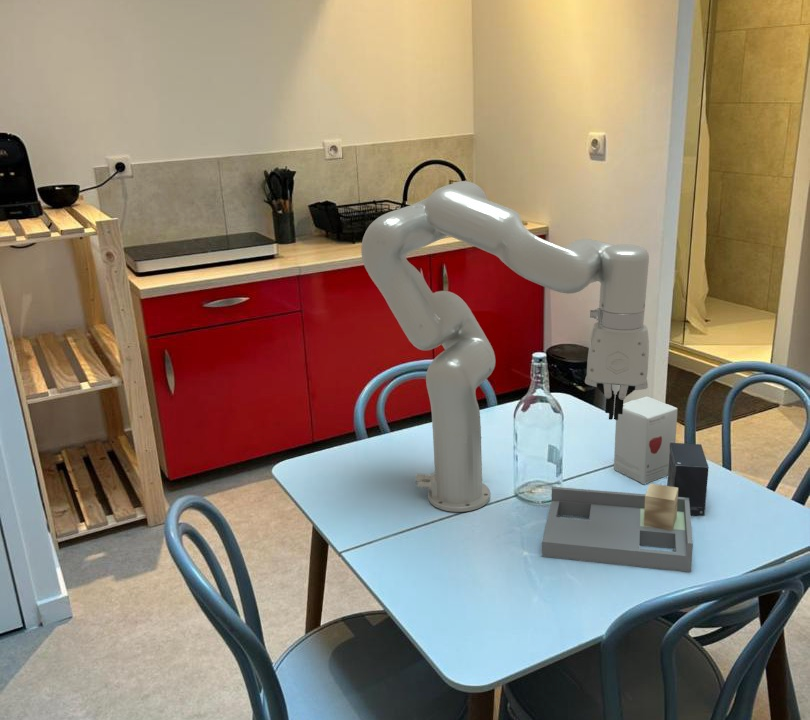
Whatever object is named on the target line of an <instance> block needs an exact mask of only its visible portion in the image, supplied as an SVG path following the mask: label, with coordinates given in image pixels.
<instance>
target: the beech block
mask: <svg viewBox="0 0 810 720" xmlns="http://www.w3.org/2000/svg"><path fill="white" fill-rule="evenodd" d="M648 484H649V485H648V487H647V490H646V493H645V494H646V495H645V511H644V526H649V527H655V528H661V529H666V530H672V531H673V528H674V524H675V521H676V518H677V502H678V488H677V487H670V486H667V485H662V484H655V483H648Z"/></svg>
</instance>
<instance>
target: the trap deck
mask: <svg viewBox="0 0 810 720" xmlns="http://www.w3.org/2000/svg"><path fill="white" fill-rule="evenodd" d="M645 495H646V493H636V492H635V493H634V492H624V491H623V492H622V491H621V492H620V491H608V490H596V489H595V490H594V489H583V488H572V487H570V488H569V487H558V486H551V502H550V504H549V506H550V507H549V509H548V515H547V518H546V523H545V526H544V527H545V528H544V531H543V536H542V539H541V557H543V558H544V557H545V558H551V559H553V558H554V559H563V560H570V559H571V561H572V560H573V561H580V560H581V562H582V561H583V562H590V563H591V562H592V563H598V564H599V563H601V564H608V565H609V564H610V565H618V566H619V565H620V566H629V567H639V568H649V569H658V570H659V569H660V570H667V571H668V570H669V571H675V572H676V571H677V572H678V571H679V572H685V573H686V572H687V573H692V561H693V548H694V547H693V546H694V539H693V530H692V529H693V528H692V517H691V516H692V515H690V504H689V498H685V497H678V502H677V518H676V521H675V524H674V528H673V531H672V530H666V529H661V528H655V527H649V526H644V511H645ZM560 516H562V517H560ZM563 516H564V517H563ZM571 517H573V518H571ZM574 517H575V518H574ZM576 517H577V518H576ZM580 518H583V519H580ZM584 518H585V519H584ZM586 518H588V519H586ZM640 546H643V547H644V546H647V547H656V548H667V549H674V551H669V550H661V549H660V550H659V549H650V548H649V549H648V548H641V547H640Z"/></svg>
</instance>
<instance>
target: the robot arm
mask: <svg viewBox="0 0 810 720" xmlns="http://www.w3.org/2000/svg"><path fill="white" fill-rule="evenodd" d="M447 237H451V238H452V239H456V240H458V241H461V242H462V243H466V244H468V245H469V246H470V245H471V246H473V247H475V248H477V249H480V250H482V251H485V252H486V253H489V254H491V255H494V256H496V257H497V258H499V260H500V261H501V262H502V264H503V263H504V265H506V266H507V268H509V269H510V270H512V271H513V272H514V273H516V274H517V275H519V276H520V277H522V278H524V279H525V280H528V281H530V282H532V283H535V284H537V285H539V286H542V287H544V288H547V289H549V290H551V291H554V292H558V293H563V294H566V295H567V294H577V293H579V292H581V291H583V290H584V289H585V288H586V287H588V286H590V285H591V284H593V283H596V282H599V283H600V290H599V301H598V302H599V304H598V305H599V306H598V307H597V309H590V310H589V318H593V319H595V320H596V322H595V323H594V324H593V326H592V330H591V334H590V337H589V338H590V339H589V345H588V351H587V352H588V353H587V362H586V376H585V377H584V378H585V379H584V383H585V384H586V385H588V386H592V387H595V388H597V389H599V391H600V392H601V393H602V394H603V395H604V397H605V411H604V413H606V414H608V420H614V421H616V420H618V414H622V413H623V403H624V400H625V399H626V397H627V396H629V395H631V394H632V393H633V392H634V391H641V390H647V389H648V388H649V383H648V373H649V356H650V355H649V352H650V344H649V343H650V342H649V341H650V340H649V339H650V338H649V332H648V327H647V325H645V323H644V321H645V310H646V309H645V308H646V301H647V300H646V297H647V285H648V275H649V274H648V273H649V266H650V265H649V263H650V262H649V261H650V257H649V252H648V250H647V249H646V248H645V247H642V246H640V245H635V244H613V243H607V242H604V241H603V242H602V241H600V240H595V239H592V238H580V239H576V240H575V241H573V242H571V243H569V244H568V245H566V246H564V247H563V246H561V245H558V244H555V243H552V242H550V241H548V240H546V239H544V238H541V237H540V236H537V235H535V234H534V233H532V232H531V231H529V230H528V229H527V228H526V226H525V225H524V223H523V221H522V219H521V216H520V214H519V213H518V212H517V211H516V210H514V209H513V208H509V207H506V206H505V205H502V204H500V203H496V202H494V201H491V200H489V199H488V197H487V194H486V193H485V192H484V190H483V189H482V188H481V187H480V186H479V185H477V184H476V183H475V182H471V181H468V180H467V181H466V180H462V181H456V182H453V183H450V184H447V185H444V186H442V187H439V188H436V189H435V191H433V192H432V193H431V194H430V195H429V196H428V197H426V198H424V199H422V200H419V201H418V202H416V203H413V204H411V205H407V206H404V207H401V208H398V209H395V210H392V211H389V212H386V213H384V214H381V215H380V216H378V217H377V218H376V219H375V220H373V221H372V222H371V223H370V224H369V226H368V227H367V229H366V230H365V233H364V235H363V237H362V241H361V250H360V251H361V252H360V253H361V259H362V263H363V266H364V268H365V270H366V272H367V273H368V276H369V277H370V279H371V280H372V282H373V283H374V285H375V286H376V287H377V289H378V290H379V292H380V293H381V295H382V296H383V298H384V299H385V301H386V303H387V306H388V307H389V309H390V310H391V312H392V314H393V316H394V318H395V319H396V320H397V322H398V325H399V326H400V328H401V330H402V331H403V333H404V334H405V336H406V338H407V339H408V341H409V343H411V344H412V345H413V347H415V348H416V349H418V350H421V351H431V350H433V349H435V348H438V347H439V346H442V347H443V349H444V350H443V351H442V352H440V353H439V354H438V355H437V356H436V357H435V358H433V359H432V361H431V362H430V364H429V365H428V368H427V371H426V374H425V382H426V384H425V385H426V389H427V393H428V397H429V402H430V409H431V410H430V411H431V422H432V425H431V426H432V439H433V441H432V442H433V443H432V444H433V461H434V466H433V467H434V473H431V474H424V473H416V474H415V478H414V480H415V484H417V487H418V489H428V495H427V497H428V501H429V502H430V504H431V505H432V506H433V507H435V508H437V509H439V510H441V511H447V512H454V513H463V512H465V513H466V512H470V511H471V512H472V511H474V510H477V509H480V508H482V507H484V506H485V505H486V504H488V502H489V501H490V499H491V489H490V488H489V486H487V485H486V484H485V483H483V467H482V466H483V463H482V458H483V457H482V456H483V455H482V426H481V412H480V407H479V403H478V399H477V395H476V390H477V388H478V387H480V385H481V384H482V383H483V382H485V381H486V380H487V379H488V378H489V377H490V376H491V375H492V373H493V371H494V370H495V368H496V354H495V351H494V349H493V346H492V345H491V342H490V341H489V339H488V338H487V336H486V334H485V332H484V330H483V329H482V327H481V326H480V323H479V322H478V321H477V319H476V317H475V315H474V313H473V312H472V309H471V308H470V307H469V306H468V304H467V303H466V302H465V301H464V300H463V298H461V297H460V296H459V295H457V294H456V293H454V292H451V291H448V290H438V291H435V292H433V291H432V290H431V288H430V287H429V285H428V284H427V282H426V280H425V278H424V277H423V275H422V273H421V272H420V271H419V270H418V269H417V268H416V267H415V266H414V265H413V264H411V262H409V261H408V259H407V255H408V254H411V253H413V252H416V251H417V250H420V249H421V248H424V247H427V246H428V245H431V244H433V243H435V242H438V241H440V240H442V239H444V238H447ZM613 385H617V386H619V390H618V391H617V392H616V393H615V392H614V390H613Z"/></svg>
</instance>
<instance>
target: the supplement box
mask: <svg viewBox="0 0 810 720" xmlns="http://www.w3.org/2000/svg"><path fill="white" fill-rule="evenodd" d="M677 422H678V407H675V406H673V405H671V404H668V403H665V402H662V401H660V400H658V399H656V398H652V397H649V396H648V395H646V396H644V397H640V398H637V399H632V400H630V401H627V402H625V403H624V402H623V413H622V414H618V420H615V433H614V438H615V439H614V455H613V470H615V471H616V472H619V473H621V474H623V475H625V476H627V477H629V478H630V479H633V480H634V481H637V482H639V483H640V484H642V485H645V484H650V483H651V482H654V481H656V480H660V479H661V478H664V477H668V468H669V454H670V443H676V440H677V439H676V438H677V424H678V423H677Z"/></svg>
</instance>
